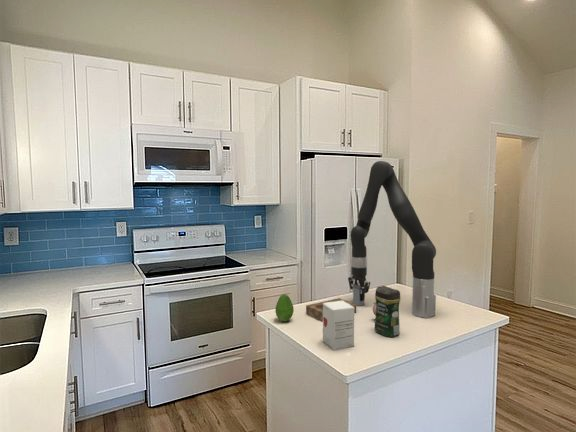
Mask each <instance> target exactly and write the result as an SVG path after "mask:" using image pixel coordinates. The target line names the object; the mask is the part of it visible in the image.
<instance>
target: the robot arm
mask: <svg viewBox="0 0 576 432" xmlns="http://www.w3.org/2000/svg"><path fill="white" fill-rule="evenodd" d="M369 171H370V172H369V177H368V183H367V187H366V191H365V194H364V197H363V200H362V203H361V205H360V209H359V211H358V214H357V222H356V225H355V226H353V227H352V228H351V230H350V242H351V247H352V248H351V269H350V271H351V275H352V276H349V277H348V278H347V280H348V285H349V289H350V290H352V291H353V284H357V285H359V289H360V293H361V294H360V301H364V299H365V297H366V294H367V293H369V290H370V286H371V282H370V281H368V280H367V278H366V276H367V275H368V271H367V270H368V268H367V267H368V258H367V246H366V243H365V239H366V237H367V236H368V235H369V231H370V228H371V223H372V221H373V218H374V215H375V213H376V209H377V206H378V199H379V196H380V195H379V194H380V191H381V188H383V189H384V192H385V193H386V196H387V201H388V204H389V205H388V206H389V208H390V210H391V212H392V214H393V216H394V218H395V220H396V222H397V223H398V224H399V226H400V227H401V228H402V229H403V230H404V232H405V233H406V234H407V235H408V237H409V238H410V240H411V242H412V245H413V248H412V249H411V270H412V271H411V272H412V290H411V291H412V293H411V295H412V296H411V297H412V299H411V300H412V301H411V314H412V315H413V316H415V317H418V318H419V317H420V318H425V319H428V318H431V317H435V316H436V306H437V305H436V304H437V301H436V300H437V299H436V297H437V296H436V294H435V271H434V259H435V258H436V255H437V248H436V247H435V244H434V243H433V242H432V240H431V238H430V237H429V236H428V234H427V233H426V231H425V230H424V227H423V225H422V223H421V221H420V218H419V217H418V214H417V212H416V211H415V209H414V207H413V204H412V203H411V201H410V199H409V197H408V196H407V194H406V192H405V191H404V190H403V188H402V186H401V184H400V183H399V180H398V178H397V175H396V172H395V170H394V168H393V165H391V164H390V163H389V162H387V161H383V160H377V161H376V162H374V163H373V164H372V165H371V167H370V170H369ZM363 285H364V286H363ZM361 286H363V287H361ZM362 289H363V291H362Z"/></svg>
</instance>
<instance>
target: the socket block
mask: <svg viewBox="0 0 576 432" xmlns="http://www.w3.org/2000/svg"><path fill="white" fill-rule="evenodd" d="M342 300H343V301H344V302H346V303H348V304H350V305H351V306H353V307H354V315H355V314H357V305H356V304H353V302H352V301H351V302H350V301H348V300H345V299H343V298H334V299H333V298H332V299H330V300H325V301H320V302H315V303H311V304H307V305H305V307H306V308H305V313H306V315H307V316H310V317H312V318H314V319H316V320H317V321H320V322H322V323H323V303H326V302H335V301H342Z"/></svg>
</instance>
